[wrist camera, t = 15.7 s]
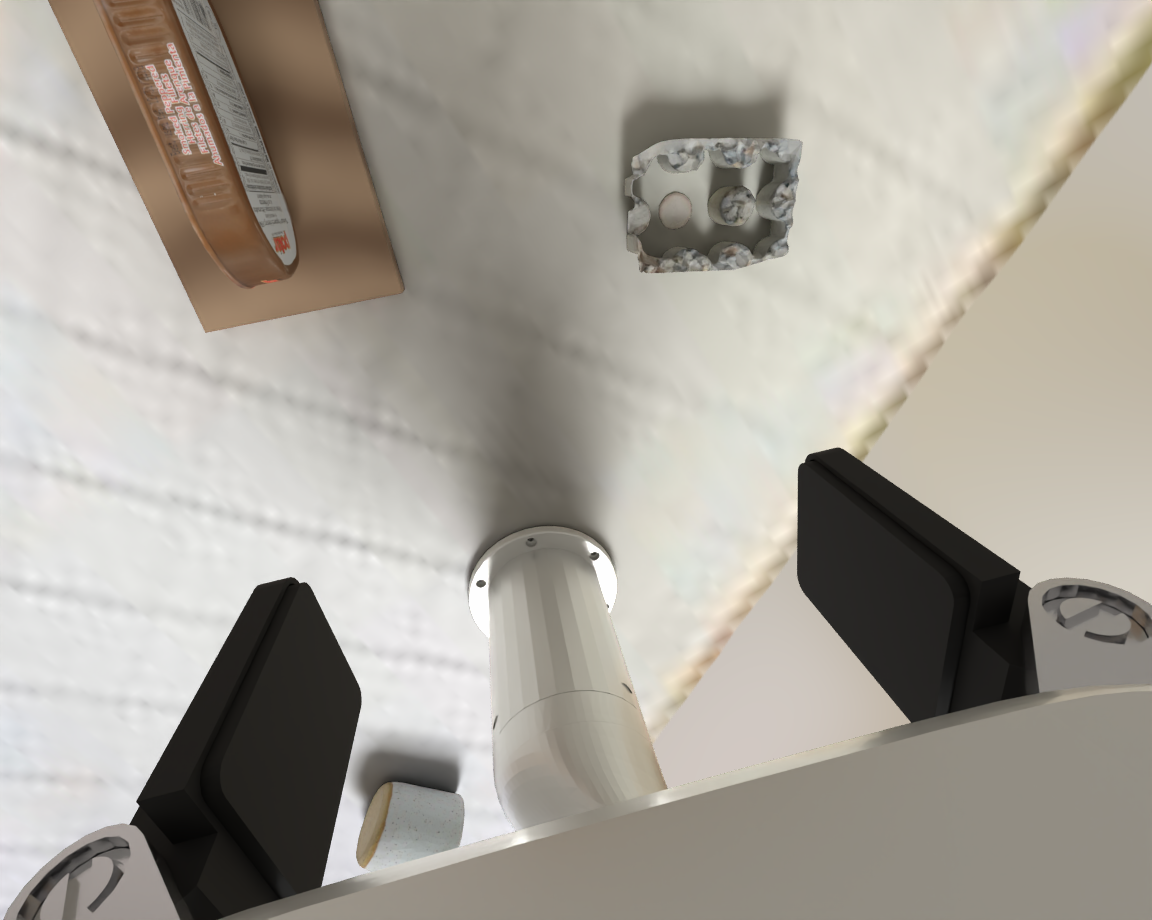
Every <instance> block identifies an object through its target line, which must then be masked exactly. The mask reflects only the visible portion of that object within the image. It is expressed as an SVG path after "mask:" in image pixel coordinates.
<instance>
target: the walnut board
mask: <svg viewBox="0 0 1152 920" xmlns="http://www.w3.org/2000/svg"><path fill="white" fill-rule="evenodd" d="M48 1H49V3H50V6H51V8H52V10H53V12H54V14H55V16H56V18H57V20H58V22H59V25H60V27H61V29H62V31H63V33H64V35H65V37H66V39H67V41H68V44H69V46H70V48H71V50H72V52H73V54H74V56H75V58H76V60H77V63H78V65H79V67H80V69H81V71H82V73H83V75H84V77H85V79H86V82H87V84H88V86H89V88H90V90H91V92H92V94H93V96H94V98H95V101H96V103H97V105H98V107H99V109H100V111H101V113H102V115H103V117H104V120H105V122H106V124H107V126H108V128H109V130H110V132H111V134H112V136H113V139H114V141H115V143H116V145H117V147H118V149H119V151H120V153H121V155H122V158H123V160H124V162H125V164H126V166H127V168H128V170H129V172H130V174H131V176H132V179H133V181H134V183H135V185H136V187H137V189H138V191H139V193H140V195H141V198H142V200H143V202H144V204H145V206H146V208H147V210H148V212H149V214H150V217H151V219H152V221H153V223H154V225H155V227H156V229H157V231H158V233H159V236H160V238H161V240H162V242H163V244H164V246H165V248H166V250H167V252H168V255H169V257H170V259H171V261H172V263H173V265H174V267H175V269H176V271H177V274H178V276H179V278H180V280H181V282H182V284H183V286H184V288H185V290H186V293H187V295H188V297H189V299H190V301H191V303H192V305H193V307H194V309H195V312H196V314H197V316H198V318H199V320H200V322H201V324H202V326H203V328H204V331H205V333H207V332H212V331H217V330H222V329H227V328H231V327H236V326H241V325H246V324H251V323H256V322H261V321H266V320H271V319H276V318H281V317H286V316H291V315H296V314H301V313H306V312H311V311H316V310H320V309H325V308H330V307H335V306H340V305H345V304H350V303H355V302H360V301H365V300H370V299H375V298H380V297H385V296H390V295H395V294H400V293H402V292H403V291H404V290H405V289H404V286H403V282H402V279H401V276H400V272H399V269H398V266H397V262H396V259H395V256H394V252H393V249H392V246H391V242H390V239H389V236H388V232H387V229H386V226H385V222H384V219H383V216H382V212H381V209H380V206H379V202H378V199H377V196H376V192H375V189H374V186H373V182H372V179H371V176H370V172H369V169H368V166H367V162H366V159H365V156H364V152H363V149H362V146H361V143H360V139H359V136H358V133H357V129H356V126H355V123H354V119H353V116H352V113H351V109H350V106H349V103H348V99H347V96H346V93H345V89H344V86H343V83H342V79H341V76H340V73H339V69H338V66H337V63H336V59H335V56H334V53H333V49H332V46H331V43H330V39H329V36H328V33H327V29H326V26H325V23H324V19H323V16H322V13H321V9H320V6H319V3H318V0H211V1H212V3H213V6H214V8H215V10H216V13H217V15H218V17H219V19H220V22H221V24H222V26H223V29H224V31H225V34H226V36H227V38H228V41H229V43H230V46H231V48H232V51H233V54H234V56H235V59H236V62H237V64H238V67H239V70H240V73H241V75H242V78H243V81H244V83H245V86H246V89H247V91H248V94H249V97H250V100H251V102H252V105H253V108H254V110H255V113H256V116H257V119H258V122H259V124H260V127H261V130H262V133H263V135H264V138H265V141H266V144H267V147H268V150H269V153H270V156H271V158H272V161H273V164H274V167H275V170H276V173H277V176H278V178H279V181H280V184H281V187H282V190H283V193H284V195H285V198H286V201H287V204H288V207H289V210H290V213H291V217H292V220H293V223H294V227H295V232H296V236H297V241H298V247H299V264H298V267H297V269H296V271H295V272H294V274H293V276H292V277H290V278H288V279H286V280H282V281H277V282H272V283H266V284H261V285H257V286H255V287H254V288H252V289H244V288H241V287H239V286H237V285H236V284H234V283H233V282H232V281H231V280H230V279H229V278H228V277H226V275H225V274H224V273H223V272H222V271H221V270H220V269H219V267H218V266H217V264H216V263H215V262H214V260H213V259H212V258H211V256H210V255H209V253H208V252H207V251H206V249H205V248H204V246H203V244H202V242H201V241H200V239H199V237H198V236H197V234H196V232H195V230H194V229H193V227H192V225H191V223H190V221H189V219H188V217H187V215H186V213H185V210H184V208H183V206H182V204H181V202H180V199H179V197H178V195H177V193H176V190H175V188H174V185H173V183H172V181H171V178H170V176H169V174H168V171H167V169H166V167H165V165H164V163H163V160H162V158H161V156H160V153H159V151H158V149H157V146H156V144H155V141H154V139H153V137H152V135H151V133H150V130H149V128H148V126H147V123H146V121H145V119H144V116H143V114H142V112H141V109H140V107H139V105H138V103H137V100H136V98H135V96H134V94H133V92H132V89H131V87H130V85H129V83H128V80H127V78H126V76H125V73H124V71H123V69H122V67H121V64H120V62H119V59H118V57H117V55H116V53H115V50H114V48H113V46H112V44H111V41H110V39H109V37H108V35H107V32H106V30H105V28H104V25H103V23H102V21H101V19H100V16H99V14H98V12H97V10H96V7H95V5H94V3H93V0H48Z"/></svg>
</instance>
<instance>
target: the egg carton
mask: <svg viewBox="0 0 1152 920" xmlns="http://www.w3.org/2000/svg"><path fill="white" fill-rule="evenodd" d="M704 150H708V151H709V156H710V159H711V161H712V162H713V164H714V165H715V166H717V167H718V168H740V169H742V168H745V167H748V166H750V165H751V164H753V163H755V161H756V159H757V155H758V154H759V153H760V155H761V157H762V159H763V160H764V161H765V162H767V163H769V164H772V165H773V166H774V171H773V179H772V180H771V182H770V183H769V184H767V185H765V186H764V187H763V188H762V189H761V190H760V192H759V193H758V195H757V198H756V202H755V198H754V197H753V195H752V193H751V191H750V190H749V189H747V188H745V187H743V186H731V187H722V188H720V189H718V190H717V191H715V192H714V194H713V195H712V196H711V197H710V199H709V202H708V213H709V217H710V218H711V219H712V220H713V221H714V222H715V223H718V224H721V225H729V226H739V225H742V224H744V223H745V222H746V221H747V220H748V218H749V217H750V216H751V214H752V211H753V208H754V204H755V206H756V210H757V212H758V214H759V215H760V216H761V217H762V218H764V219H768V220H770V221H771V225H770V235H769V236H767V237H765V238H763V239H762V240H760V241H759V242H758V243H757V245H756V246H755V248H754V251H753V254H751V252H750V250H749V248H748V247H746V246H744V245H742V244H740V243H735V242H728V241H723V242H719V243H717V244H715V245H714V246H713V247H712V248H711V250H710V251H709V253H708V256H706V255H703V254H700V253H699V252H698V251H697V250H695V249H688V248H685V247H677V246H676V247H672V248H671V249H669V250H667V251H666V252H665V253H664V254H663V256H662V258H657V257H653V256H650V255H648V254H646V253H645V252H644V250H643V248H642V244H641V241H640V240H639V239H638V237H637V236H638V235H640V234H641V233H642V232H643V231H645V230H646V228H647V227H648V225H649V221H650V218H651V214H650V209H649V207H648V204H647V203H646V202H645V201H644V200H643V199H641V198H638V197H636V196H635V195H633V192H632V184H633V181H634V180H636V179H637V178H639V177H640V176H643V175H644V174H645V173H646V171H647V169H648V167H649V165H650V163H651V162H652V160H653V158H655V157H656V156H657V159H658V163H659V164H660V166H661V168H662V169H664V170H665V171H667V172H669V173H673V174H674V173H685V172H689V171H692V170H697V169H698V168H699V166H700V165H701V164H702V162H703V161H704ZM801 151H802V141H800V140H793V139H782V138H704V139H694V138H687V139H673V140H667V141H661V142H659V143H657V144H654V145H653V146H651V147H649V148H648V149H646V150H645V151H643V152H641V153H640V154H638V155H636V156H634V157H633V159H632V171H633V175H632V176H630V177H628V178H626V179H625V190H624V194H625V196H628V197H631V198H632V199H633V201H634V203H635V204H634V208H633V209H631V210H629V211H628V233H631V234H628V235H627V250H628V251H630V252H632V253H635V254H638V260H639V270H640V272H641V273H642V272H643V271H644V272H645V273H665V272H686V271H709V270H732V269H738V268H741V267H745V266H749V265H752V264H755V263H759V262H762V261H765V260H768V259H773V258H778V257H782V256H785V255H786V254H787V253H788V244H787V238H788V232H789V229H790V228H791V227H792V224H793V218H792V211H793V207H794V204H795V195H796V190H797V185H798V182H799V179H798V175H797V168H798V165H799V162H800V158H801ZM691 213H692V206H691V203H690V201H689V199H688V197H686V196H685V195H684V194H681V193H677V192H674V193H671V194H669V195H667V196H666V197H665V198H664V199H663V201H662V202H661V204H660V206H659V218H660V220H661V222H662V224H663V225H664V226H666V227H667V228H668V229H674V230H675V229H677V228H678V229H679V228H680V227H683V226H684V225H685V224H686V223H687V222H688V221H689V219H690V217H691Z"/></svg>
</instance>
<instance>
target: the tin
mask: <svg viewBox="0 0 1152 920" xmlns="http://www.w3.org/2000/svg"><path fill="white" fill-rule="evenodd" d="M93 3H94V5H95V7H96V10H97V12H98V14H99V16H100V19H101V21H102V23H103V25H104V28H105V30H106V32H107V35H108V37H109V39H110V41H111V44H112V46H113V48H114V50H115V53H116V55H117V57H118V59H119V62H120V64H121V67H122V69H123V71H124V73H125V76H126V78H127V80H128V83H129V85H130V87H131V89H132V92H133V94H134V96H135V98H136V100H137V103H138V105H139V107H140V109H141V112H142V114H143V116H144V119H145V121H146V123H147V126H148V128H149V130H150V133H151V135H152V137H153V139H154V141H155V144H156V146H157V149H158V151H159V153H160V156H161V158H162V160H163V163H164V165H165V167H166V169H167V171H168V174H169V176H170V178H171V181H172V183H173V185H174V188H175V190H176V193H177V195H178V197H179V199H180V202H181V204H182V206H183V208H184V210H185V213H186V215H187V217H188V219H189V221H190V223H191V225H192V227H193V229H194V230H195V232H196V234H197V236H198V237H199V239H200V241H201V242H202V244H203V246H204V248H205V249H206V251H207V252H208V253H209V255H210V256H211V258H212V259H213V260H214V262H215V263H216V264H217V266H218V267H219V269H220V270H221V271H222V272H223V273H224V274H225V275H226V277H228V278H229V279H230V280H231V281H232V282H233V283H234V284H236V285H237V286H239V287H241V288H244V289H252V288H254V287H255V286H257V285H261V284H266V283H272V282H277V281H282V280H286V279H288V278H290V277H292V276H293V274H294V272H295V271H296V269H297V267H298V264H299V247H298V241H297V236H296V232H295V227H294V223H293V220H292V217H291V213H290V210H289V207H288V204H287V201H286V198H285V195H284V193H283V190H282V187H281V184H280V181H279V178H278V176H277V173H276V170H275V167H274V164H273V161H272V158H271V156H270V153H269V150H268V147H267V144H266V141H265V138H264V135H263V133H262V130H261V127H260V124H259V122H258V119H257V116H256V113H255V110H254V108H253V105H252V102H251V100H250V97H249V94H248V91H247V89H246V86H245V83H244V81H243V78H242V75H241V73H240V70H239V67H238V64H237V62H236V59H235V56H234V54H233V51H232V48H231V46H230V43H229V41H228V38H227V36H226V34H225V31H224V29H223V26H222V24H221V22H220V19H219V17H218V15H217V13H216V10H215V8H214V6H213V3H212V1H211V0H93Z"/></svg>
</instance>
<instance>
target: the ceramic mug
mask: <svg viewBox="0 0 1152 920" xmlns="http://www.w3.org/2000/svg"><path fill="white" fill-rule="evenodd" d="M463 824H464V802H463V798H462V797H461V796H460V795H459V794H455V793H450V792H445V791H441V790H436V789H431V788H426V787H421V786H416V785H412V784H408V783H402V782H388V783H386V784H384V785H382V786H381V787H380V788H379V789H378V790H377V792H376V794H375V795H374V797H373V799H372V801H371V803H370V806H369V808H368V811H367V813H366V816H365V819H364V822H363V825H362V828H361V831H360V835H359V839H358V845H357V851H356V858H357V861H358V864H359V865H360V866H361V867H362V868H364V869H366V870H368V871H370V872H373V871H377V870H380V869H384V868H388V867H391V866H395V865H398V864H402V863H405V862H409V861H412V860H416V859H419V858H423V857H426V856H430V855H433V854H437V853H441V852H444V851H448V850H451V849H455V848H458V847H459V845H460V842H461V838H462V831H463Z"/></svg>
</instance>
